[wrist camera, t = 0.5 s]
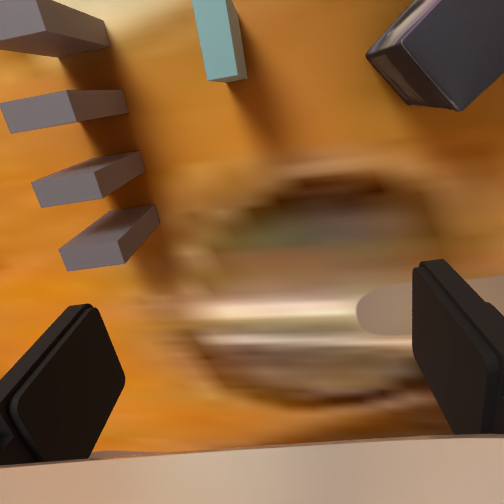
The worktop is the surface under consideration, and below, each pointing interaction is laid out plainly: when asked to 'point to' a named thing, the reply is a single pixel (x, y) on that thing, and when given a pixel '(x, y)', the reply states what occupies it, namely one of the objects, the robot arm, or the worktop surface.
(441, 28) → the small box
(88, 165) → the domino
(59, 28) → the domino
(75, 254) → the domino
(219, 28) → the domino
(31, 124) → the domino
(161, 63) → the worktop surface
